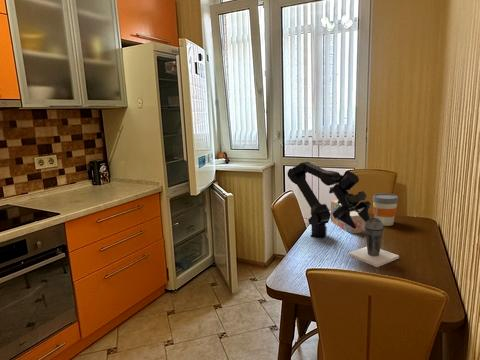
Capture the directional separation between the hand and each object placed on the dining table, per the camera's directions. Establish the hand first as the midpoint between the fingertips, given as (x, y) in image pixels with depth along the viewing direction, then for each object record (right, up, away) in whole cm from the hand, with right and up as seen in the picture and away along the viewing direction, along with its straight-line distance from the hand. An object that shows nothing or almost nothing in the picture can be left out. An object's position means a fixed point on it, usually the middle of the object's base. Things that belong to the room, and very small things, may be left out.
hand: (362, 226), depth 146 cm
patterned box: (+4, -5, +36) cm, 37 cm away
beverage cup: (+3, -11, -3) cm, 12 cm away
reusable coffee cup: (+26, -4, +39) cm, 47 cm away
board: (+4, -12, -3) cm, 13 cm away
